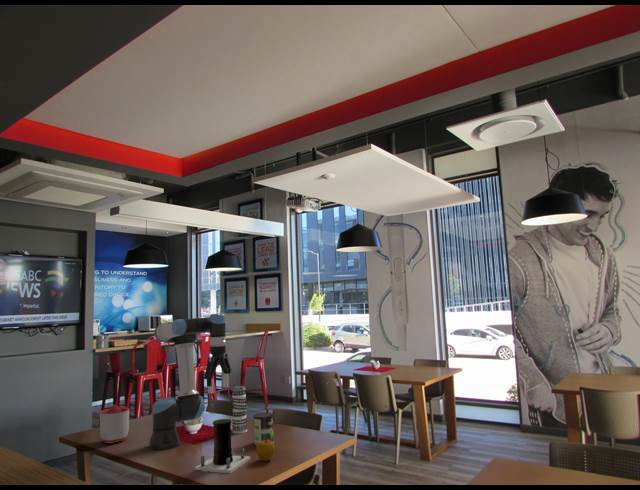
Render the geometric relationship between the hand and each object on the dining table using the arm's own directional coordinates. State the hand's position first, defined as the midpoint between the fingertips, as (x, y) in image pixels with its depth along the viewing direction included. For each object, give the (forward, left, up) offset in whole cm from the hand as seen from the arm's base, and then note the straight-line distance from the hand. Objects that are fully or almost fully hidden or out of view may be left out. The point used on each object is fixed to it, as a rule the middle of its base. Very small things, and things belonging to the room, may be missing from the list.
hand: (218, 390), depth 225 cm
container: (+7, -8, -30) cm, 32 cm away
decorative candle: (-13, +44, -32) cm, 56 cm away
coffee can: (+11, +26, -32) cm, 42 cm away
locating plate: (+7, -8, -31) cm, 33 cm away
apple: (+24, +1, -32) cm, 40 cm away
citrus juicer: (-76, +15, -32) cm, 84 cm away
